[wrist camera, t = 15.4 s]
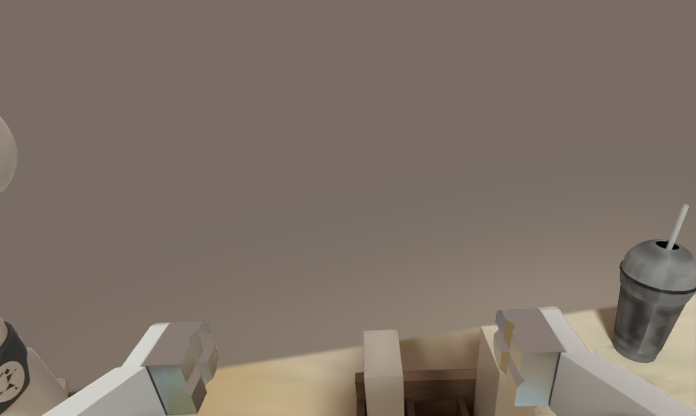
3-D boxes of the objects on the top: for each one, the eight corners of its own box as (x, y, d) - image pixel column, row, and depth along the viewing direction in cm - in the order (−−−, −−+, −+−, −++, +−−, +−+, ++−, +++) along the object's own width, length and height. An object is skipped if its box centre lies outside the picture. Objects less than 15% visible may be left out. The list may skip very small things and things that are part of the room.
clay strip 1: (373, 485, 35) (364, 377, 29) (372, 433, 40) (363, 330, 34) (406, 484, 35) (403, 376, 29) (401, 432, 39) (397, 329, 33)
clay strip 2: (486, 483, 34) (499, 373, 28) (471, 431, 39) (480, 326, 33) (520, 483, 34) (540, 372, 28) (501, 430, 39) (516, 324, 33)
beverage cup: (587, 339, 50) (620, 203, 42) (624, 321, 53) (663, 188, 44) (645, 380, 44) (698, 230, 36) (684, 358, 46) (743, 212, 38)
